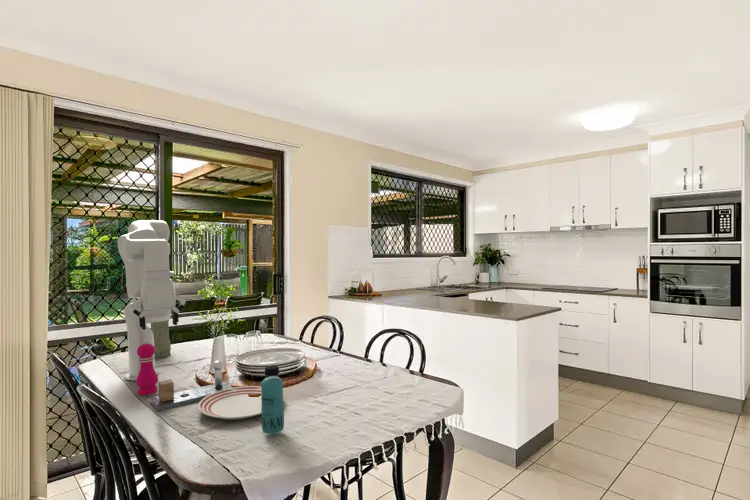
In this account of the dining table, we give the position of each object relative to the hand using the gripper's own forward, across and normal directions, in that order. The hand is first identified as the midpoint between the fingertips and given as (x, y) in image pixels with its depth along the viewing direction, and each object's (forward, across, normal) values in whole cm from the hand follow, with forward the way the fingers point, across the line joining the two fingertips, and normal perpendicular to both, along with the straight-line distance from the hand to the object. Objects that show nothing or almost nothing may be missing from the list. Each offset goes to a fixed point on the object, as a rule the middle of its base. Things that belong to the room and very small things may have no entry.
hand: (159, 326), depth 144 cm
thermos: (+27, -15, -74) cm, 80 cm away
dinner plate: (+29, -21, +16) cm, 39 cm away
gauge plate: (+28, -11, -5) cm, 31 cm away
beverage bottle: (+29, -21, +41) cm, 55 cm away
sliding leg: (+26, -2, -5) cm, 27 cm away
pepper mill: (+28, +1, -22) cm, 36 cm away
